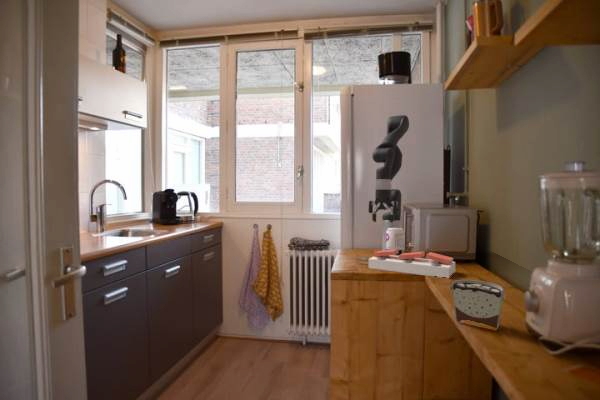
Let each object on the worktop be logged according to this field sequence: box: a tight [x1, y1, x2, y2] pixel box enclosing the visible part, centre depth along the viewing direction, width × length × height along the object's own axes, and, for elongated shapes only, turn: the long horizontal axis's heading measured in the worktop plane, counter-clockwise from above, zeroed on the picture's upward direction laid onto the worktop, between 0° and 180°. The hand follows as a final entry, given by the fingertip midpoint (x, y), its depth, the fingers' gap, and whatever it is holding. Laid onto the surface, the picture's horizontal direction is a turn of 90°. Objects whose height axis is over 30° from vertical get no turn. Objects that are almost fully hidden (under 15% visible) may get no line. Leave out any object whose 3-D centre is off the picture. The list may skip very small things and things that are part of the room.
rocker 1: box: [373, 249, 399, 257], centre depth 150 cm, size 6×9×2 cm, turn 55°
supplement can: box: [386, 227, 405, 256], centre depth 163 cm, size 8×8×15 cm
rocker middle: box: [399, 251, 426, 259], centre depth 144 cm, size 6×9×2 cm, turn 55°
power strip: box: [356, 255, 456, 279], centre depth 145 cm, size 12×40×5 cm, turn 55°
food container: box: [449, 279, 506, 329], centre depth 86 cm, size 12×6×10 cm, turn 48°
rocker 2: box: [425, 251, 454, 265], centre depth 138 cm, size 6×9×2 cm, turn 55°
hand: (383, 222), depth 169 cm, fingers open, 8 cm apart
